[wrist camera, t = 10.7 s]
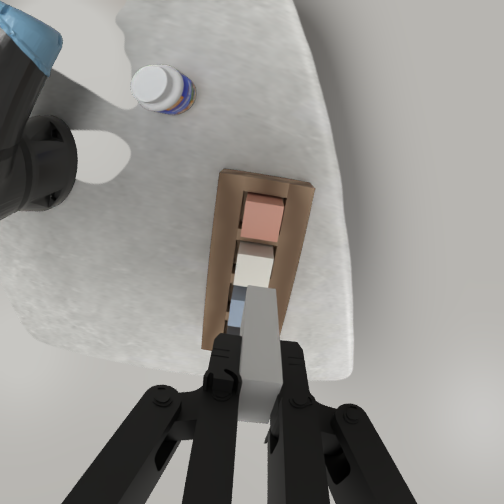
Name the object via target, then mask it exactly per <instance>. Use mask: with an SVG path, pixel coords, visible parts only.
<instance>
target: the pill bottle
mask: <svg viewBox="0 0 504 504" xmlns="http://www.w3.org/2000/svg"><path fill="white" fill-rule="evenodd" d="M131 92H132V95H133V96H134V97H135V98H136V99H137V101H138V102H139V104H140V105H141V106H142V107H144V108H145V109H147V110H150V111H155V112H160V113H165V114H171V115H176V114H180V113H183V112H185V111H186V110H188V109H189V108H190V107H191V106H192V104H193V103H194V100H195V97H196V89H195V86H194V84H193V82H192V81H191V80H190V79H189V78H188V77H186V76H185V75H183V74H182V73H181V72H179V71H178V70H177V69H175V68H173V67H172V66H169V65H164V64H160V65H148V66H145V67H143V68H141V69H140V70H138V71H137V72H136V74H135V75H134V77H133V78H132V81H131Z"/></svg>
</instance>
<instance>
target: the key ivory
mask: <svg viewBox="0 0 504 504" xmlns="http://www.w3.org/2000/svg"><path fill="white" fill-rule="evenodd" d="M273 261H274V255H273V245H268V244H261V243H255V242H249V241H242V240H240V245H239V250H238V256H237V263H236V270H235V276H234V283H233V285H237V286H243V287H247V286H248V285H252V286H258V287H265V288H268V285H269V280H270V275H271V270H272V266H273Z"/></svg>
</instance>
